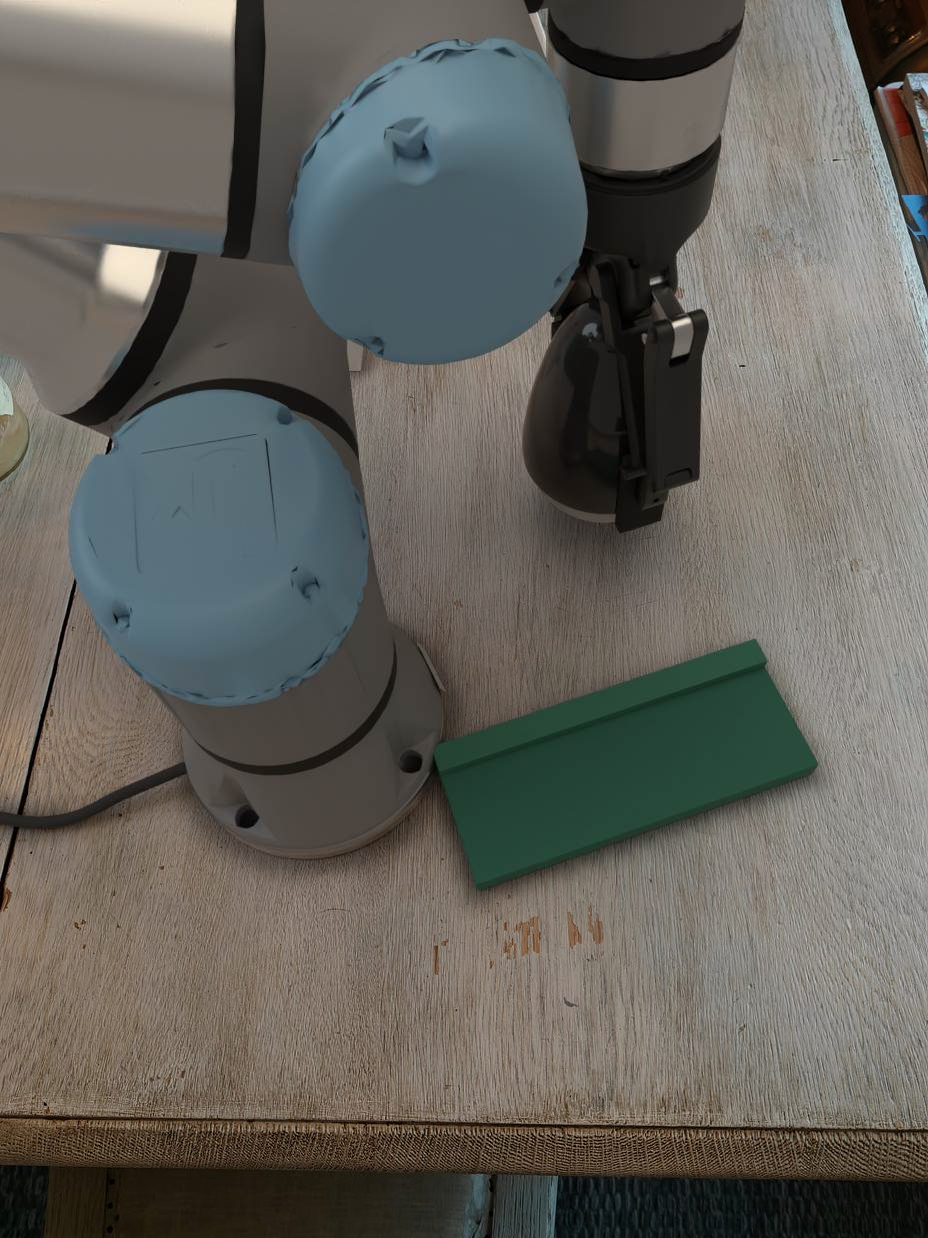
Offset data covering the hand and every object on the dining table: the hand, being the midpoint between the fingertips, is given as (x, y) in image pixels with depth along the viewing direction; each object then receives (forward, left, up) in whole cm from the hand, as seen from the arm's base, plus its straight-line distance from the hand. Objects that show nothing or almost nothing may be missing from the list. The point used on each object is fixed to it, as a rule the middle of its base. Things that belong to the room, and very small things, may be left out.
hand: (603, 456), depth 60 cm
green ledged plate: (-6, -18, -5) cm, 20 cm away
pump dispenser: (0, 0, -3) cm, 3 cm away
